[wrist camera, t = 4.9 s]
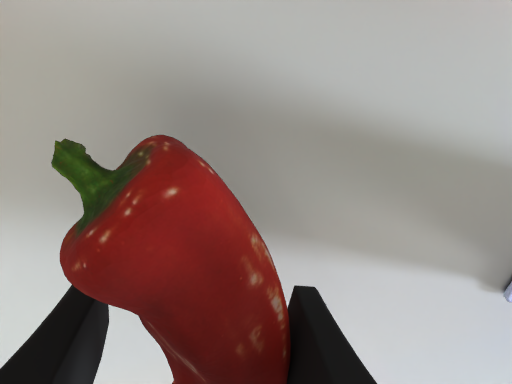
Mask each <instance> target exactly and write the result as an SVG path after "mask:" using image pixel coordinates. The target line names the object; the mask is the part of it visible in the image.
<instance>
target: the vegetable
mask: <svg viewBox="0 0 512 384" xmlns="http://www.w3.org/2000/svg"><path fill="white" fill-rule="evenodd" d="M85 151H86V148H85V147H84V146H83V145H82V144H80V143H76V142H73V141H70V140H68V139H64V140H63V141H61V142H58V141H55V151H54V155H53V160H52V162H51V163H52V167H53V168H54V169H56V170H57V171H58V172H59V173H60V174H61V175H62V176H64V177H65V178H67V179H68V180H69V181H70V182H71V183H72V184H73V185H74V187H75V189H76V190H77V191H78V192H79V193H80V195H81V198H82V202H83V207H84V215H83V217H82V218H81V219H80V220H79V221H78V222H77V223H76V224H75V225H74V226H73V227H72V228H71V229H70V230H69V231H68V233H67V234H66V236H65V238H64V239H63V242H62V245H61V250H60V264H61V266H62V269H63V272H64V275H65V276H66V278H67V279H68V281H69V282H70V283H71V284H72V285H73V286H74V287H76V288H77V289H78V290H80V291H81V292H82V293H84V294H85V295H87V296H90V297H92V298H94V299H96V300H98V301H100V302H102V303H106V304H109V305H112V306H115V307H119V308H122V309H125V310H128V311H131V312H133V313H135V314H137V315H139V318H140V320H141V322H142V324H143V325H144V327H145V328H146V330H147V331H148V332H149V333H150V334H151V336H152V337H153V338H154V339H155V340H156V341H157V343H158V344H159V345H160V347H161V348H162V350H163V352H164V354H165V356H166V358H167V360H168V363H169V366H170V368H171V371H172V374H173V378H174V381H173V383H172V384H287V377H288V370H289V365H290V347H291V342H290V327H289V316H288V310H287V305H286V301H285V297H284V293H283V290H282V286H281V283H280V280H279V277H278V274H277V271H276V269H275V266H274V263H273V260H272V258H271V255H270V253H269V251H268V248H267V246H266V245H265V243H264V241H263V239H262V237H261V236H260V234H259V232H258V231H257V229H256V228H255V226H254V224H253V223H252V221H251V220H250V218H249V217H248V215H247V214H246V212H245V211H244V209H243V207H242V206H241V204H240V203H239V201H238V200H237V199H236V197H235V196H234V195H233V193H232V192H231V191H230V189H229V188H228V187H227V186H226V184H225V183H224V182H223V180H222V179H221V178H220V177H219V176H218V174H217V173H216V172H215V171H214V170H213V169H212V168H211V167H210V165H209V164H208V163H207V162H205V161H204V160H203V159H202V158H201V157H199V156H198V155H197V154H195V153H194V152H193V151H191V150H190V149H188V148H187V147H186V146H185V145H184V144H183V143H182V142H180V141H179V140H177V139H175V138H173V137H169V136H165V135H156V136H151V137H149V138H146V139H145V140H143V141H142V142H140V143H139V144H138V145H137V146H136V147H135V148H134V149H133V150H132V151H131V152H130V153H129V154H128V156H127V157H126V159H125V160H124V162H123V163H122V164H121V165H120V166H119V167H118V168H117V169H116V170H113V171H111V170H108V169H105V168H103V167H101V166H100V165H98V164H97V163H96V162H95V161H93V160H92V159H91V157H90V155H88V154H86V153H85Z"/></svg>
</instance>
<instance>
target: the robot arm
mask: <svg viewBox="0 0 512 384" xmlns="http://www.w3.org/2000/svg"><path fill="white" fill-rule="evenodd" d="M504 297H505V299H506V300H507V301H508V302H512V282H511V283H510V285H509V286H508V288H507V289H506V290H505V292H504ZM287 310H288V316H289V327H290V342H291V347H290V365H289V370H288V377H287V384H377V383H376V381H375V380H374V379H373V377H372V376H371V375H370V373H369V372H368V370H367V369H366V368H365V366H364V365H363V363H362V362H361V360H360V359H359V358H358V356H357V355H356V353H355V351H354V350H353V348H352V347H351V345H350V344H349V342H348V341H347V339H346V338H345V336H344V335H343V333H342V331H341V330H340V328H339V326H338V325H337V323H336V322H335V320H334V318H333V317H332V315H331V313H330V311H329V310H328V308H327V306H326V304H325V303H324V301H323V299H322V297H321V296H320V294H319V292H318V290H317V289H316V288H315V287H308V286H294V289H293V292H292V296H291V299H290V302H289V305H288V309H287ZM108 325H109V309H108V304H106V303H102V302H100V301H98V300H96V299H94V298H92V297H90V296H87V295H85V294H84V293H82V292H81V291H80V290H78V289H77V288H76V287H74V286H73V285H72V286H71V287H70V288H69V290H68V291H67V292H66V294H65V295H64V296H63V298H62V299H61V300H60V301H59V303H58V304H57V305H56V307H55V308H54V309H53V310H52V312H51V313H50V314H49V315H48V316H47V318H46V319H45V320H44V321H43V322H42V323H41V325H40V326H39V327H38V328H37V329H36V331H35V332H34V333H33V334H32V335H31V336H30V338H29V339H28V340H27V341H26V342H25V343H24V344H23V345H22V346H21V347H20V348H19V350H18V351H17V352H16V353H15V354H14V355H13V356H12V357H11V358H10V359H9V360H8V361H7V362H6V363H5V365H4V366H3V367H2V368H1V369H0V384H93V382H94V379H95V376H96V373H97V370H98V367H99V364H100V361H101V357H102V353H103V348H104V344H105V339H106V334H107V329H108Z"/></svg>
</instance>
